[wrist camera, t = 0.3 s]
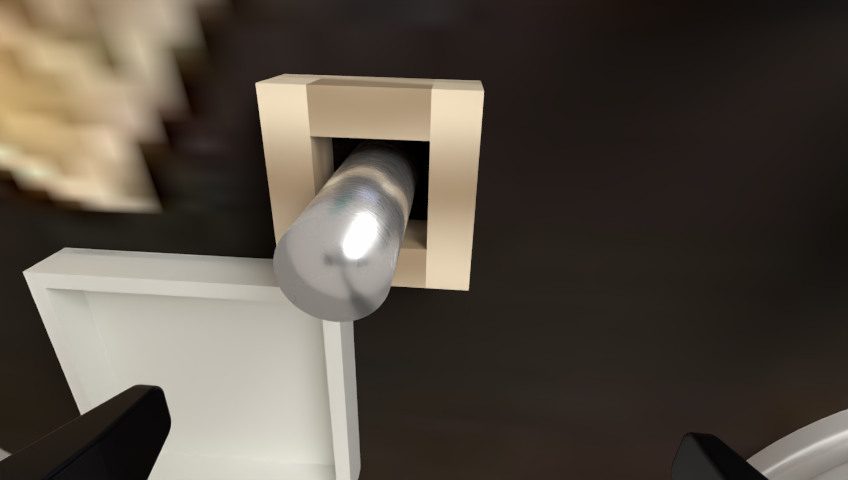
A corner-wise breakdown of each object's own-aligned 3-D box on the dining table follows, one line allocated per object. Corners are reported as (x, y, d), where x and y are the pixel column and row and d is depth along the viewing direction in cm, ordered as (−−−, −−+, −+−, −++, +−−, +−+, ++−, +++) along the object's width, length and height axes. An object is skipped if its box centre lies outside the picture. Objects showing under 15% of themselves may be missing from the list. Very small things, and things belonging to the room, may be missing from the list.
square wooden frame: (467, 256, 22) (468, 290, 19) (302, 248, 22) (280, 279, 20) (480, 80, 18) (484, 91, 16) (284, 74, 19) (255, 82, 16)
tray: (360, 467, 29) (352, 505, 26) (136, 449, 30) (109, 485, 27) (349, 263, 22) (337, 290, 20) (65, 247, 23) (22, 271, 21)
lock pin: (418, 207, 21) (392, 325, 13) (349, 204, 21) (280, 318, 13) (419, 137, 20) (391, 220, 11) (345, 134, 20) (265, 213, 12)
